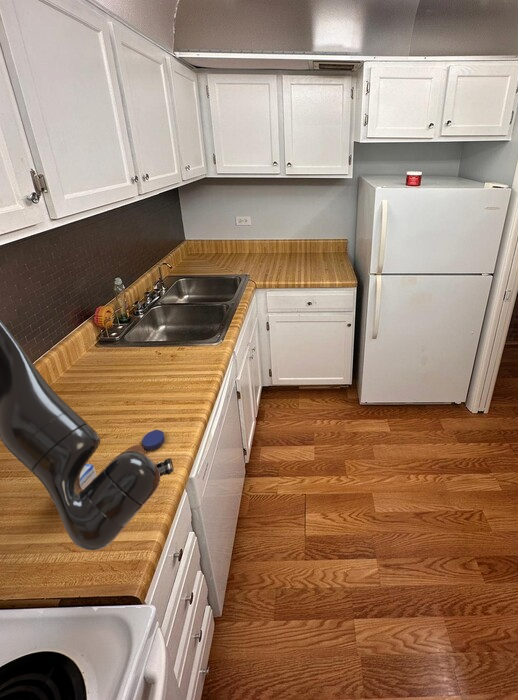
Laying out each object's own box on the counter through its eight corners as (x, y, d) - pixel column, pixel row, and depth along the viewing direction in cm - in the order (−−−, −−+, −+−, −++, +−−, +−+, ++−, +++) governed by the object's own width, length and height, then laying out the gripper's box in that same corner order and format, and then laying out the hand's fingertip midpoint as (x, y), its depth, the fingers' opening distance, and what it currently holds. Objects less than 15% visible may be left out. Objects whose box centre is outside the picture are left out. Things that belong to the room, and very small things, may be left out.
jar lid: (138, 447, 92) (137, 443, 92) (152, 432, 98) (151, 428, 97) (155, 452, 91) (154, 448, 90) (169, 436, 96) (168, 432, 95)
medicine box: (58, 502, 78) (47, 476, 75) (73, 484, 82) (63, 459, 79) (87, 506, 77) (78, 480, 74) (102, 488, 81) (93, 463, 78)
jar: (135, 496, 80) (126, 465, 76) (126, 484, 83) (117, 453, 79) (155, 482, 83) (148, 451, 79) (146, 470, 86) (138, 440, 82)
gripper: (168, 444, 60) (168, 445, 73) (73, 482, 53) (92, 476, 67) (178, 488, 58) (176, 481, 71) (80, 534, 51) (98, 516, 64)
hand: (136, 478), depth 69 cm, fingers open, 8 cm apart
